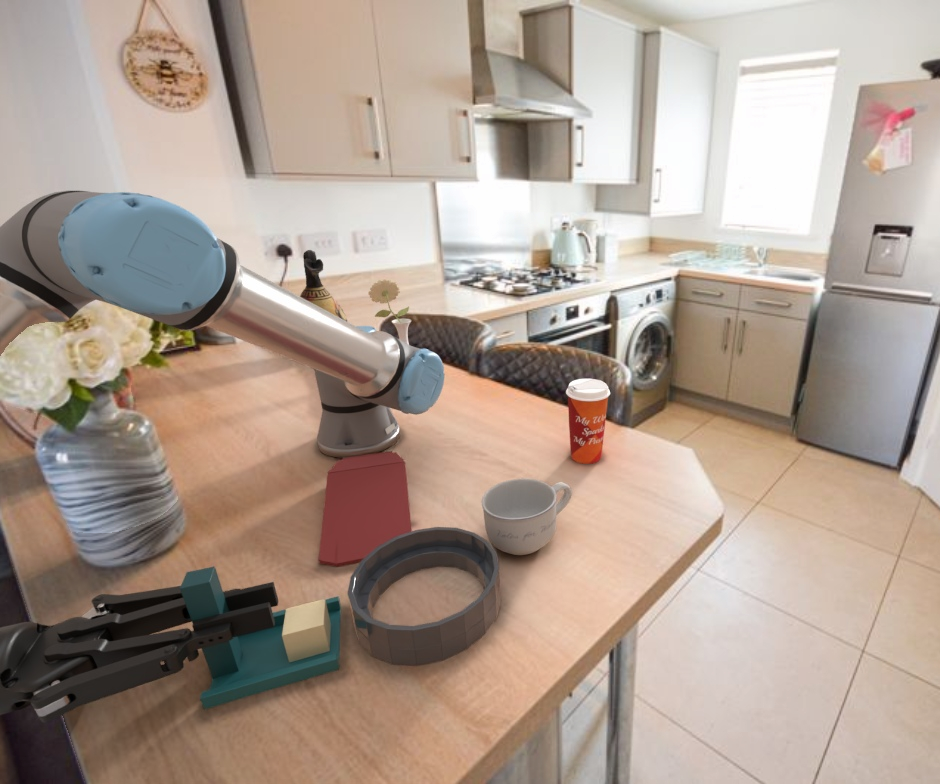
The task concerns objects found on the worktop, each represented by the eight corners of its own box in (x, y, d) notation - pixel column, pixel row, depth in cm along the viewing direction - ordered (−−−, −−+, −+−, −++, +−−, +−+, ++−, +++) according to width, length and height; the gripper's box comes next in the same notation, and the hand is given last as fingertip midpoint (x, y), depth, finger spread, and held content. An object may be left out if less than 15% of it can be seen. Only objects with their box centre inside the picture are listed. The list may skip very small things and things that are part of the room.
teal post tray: (205, 714, 51) (167, 616, 46) (226, 640, 59) (195, 549, 54) (340, 674, 55) (319, 580, 50) (341, 610, 63) (323, 523, 58)
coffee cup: (576, 470, 95) (578, 396, 89) (558, 451, 102) (558, 381, 96) (615, 461, 99) (619, 389, 93) (595, 442, 106) (597, 374, 100)
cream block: (289, 662, 56) (281, 635, 54) (292, 634, 59) (285, 608, 57) (329, 651, 57) (323, 624, 55) (331, 624, 60) (325, 598, 59)
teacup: (494, 574, 70) (491, 526, 67) (477, 527, 79) (474, 483, 76) (587, 548, 75) (589, 503, 72) (561, 508, 84) (561, 466, 81)
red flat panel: (416, 571, 75) (406, 466, 95) (412, 548, 72) (403, 444, 92) (324, 591, 71) (334, 477, 91) (317, 567, 68) (329, 455, 88)
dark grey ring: (328, 616, 62) (319, 578, 60) (444, 545, 75) (440, 511, 73) (411, 700, 53) (405, 658, 50) (528, 602, 65) (527, 565, 63)
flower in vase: (428, 360, 150) (419, 274, 140) (428, 374, 140) (418, 282, 130) (380, 364, 146) (368, 275, 137) (377, 377, 136) (363, 283, 127)
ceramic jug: (357, 357, 151) (341, 253, 140) (299, 366, 143) (277, 256, 131) (345, 342, 164) (330, 246, 152) (291, 350, 156) (270, 248, 144)
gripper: (36, 640, 54) (288, 582, 62) (-67, 790, 41) (271, 690, 49) (6, 585, 51) (275, 531, 60) (-114, 727, 38) (253, 633, 46)
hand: (273, 603), depth 54 cm, fingers closed on teal post tray, 2 cm apart
